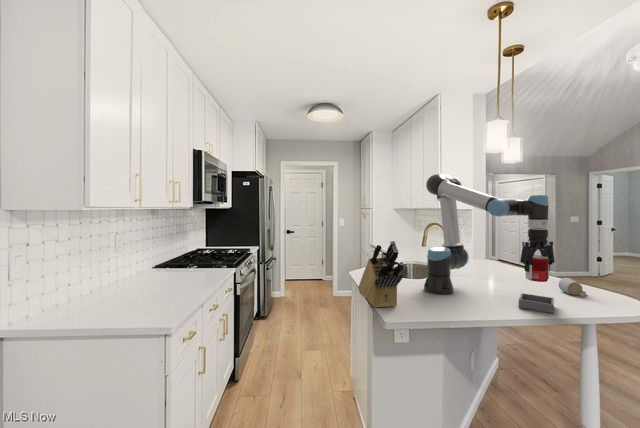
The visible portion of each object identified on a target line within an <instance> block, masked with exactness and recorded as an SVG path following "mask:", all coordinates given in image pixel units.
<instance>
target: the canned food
mask: <svg viewBox="0 0 640 428" xmlns="http://www.w3.org/2000/svg"><path fill="white" fill-rule="evenodd" d="M530 265H532V280H530V279H527V280H528V281H531V282H537V283H538V282H539V283H546V282H548V281H549V279H548V257H547V256H546V257H545V256H542V255H539V254H534V256H533V257H532V261H531V263H530Z"/></svg>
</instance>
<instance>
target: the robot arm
mask: <svg viewBox="0 0 640 428" xmlns="http://www.w3.org/2000/svg"><path fill="white" fill-rule="evenodd" d="M425 187H426V189H427V191H428V192H429V193H430V194H432V195H436V200H437V201H439V204H440V212H441V213H440V214H441V225H442V235H443V243H442V245H441V246H438V247H437V246H435V247H431V248H429V249H428V250H427V255H426V258H427V273H426V274H427V276H426V279H425V282H424V284H423V290H424V291H425V292H427V293H430V294H436V295H451V294H454V286H453V283H452V280H451V270H458V269H461V268H463V267H465V266H466V265H467V264H468V262H469V258H470V257H469V256H470V255H469V253H468V251H467V250H466V249H465V248H464V247H465V246H464V244H463V243H462V242H461V238H460V237H461V236H460V235H461V234H460V226H459V216H458V207H457V201H458V202H460V203H462V204H465V205H468V206H472V207H474V208H476V209H480V210H482V211H485V212H487V213H489V214H490V215H491V216H495V217H508V216H526V217H527V228H528V229H527V237H528V240H527V241H524V240H523V241H522V242H521V243H522V250H521V255H520V260H519V262H520V263H521V264H524V272H525V279H527V280H528V279H530V280H529V281H531V280H532V265H530V263H531V261H532V257H533V256H534V255H536V254H535V253H536V252H537V251H539V253H540V254H541V256H545V257H546V256H547V257H548V280H549V279H550V271H551V265H553V264H554V263H555V254H554V242H553V241H551V240H548V239H547V238H549V230H548V229H549V206H550V205H549V197H548V196H547V195H545V194H533V195H532V194H530V195H528V197H527V199H502V198H499V197H496V196H493V195H490V194H487V193H485V192H484V193H483V192H480V191H477V190H474V189H471V188H468V187H465V186H462V183H461V180H460V178H458V177H457V176H455V175H452V174H440V173H439V174H438V173H437V174H433V175H431V176H430V177H429V178H428V179H427V180H426V185H425Z"/></svg>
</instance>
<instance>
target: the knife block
mask: <svg viewBox="0 0 640 428" xmlns="http://www.w3.org/2000/svg"><path fill="white" fill-rule="evenodd" d="M389 243H390V244H389V246H388V248H387V250H386V252H385V256H384V257H378V256H379V254H380V252H381V251H382V246H381V245H380V244H377V245H376V246H375V248H374V251H373V255H372V257H371V258H369V259H368V260H367V263H366V266H365V268H364V270H363V271H364V272H363V273H362V276H361V279H360V282H359V285H358V286H357V287H358V288H357V289H358V293H359V294H360V295H361V296H362V297H363V298H364V299H365V300H367V301H368V302H369V304H371V305H372V306H373V308H376V307H377V308H385V307H397V306H398V305H397V304H398V286H399V284H400V282H401V281H402V279H404V275H403V274H400V273H401V272H402V270H403V268H404V262H402V261H401V262H398V261H397V259H398V256H399V250H398V248H397V245H396V241H394V240H391V241H390V242H389ZM395 265H397V266H395Z"/></svg>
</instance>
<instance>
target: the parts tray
mask: <svg viewBox="0 0 640 428" xmlns="http://www.w3.org/2000/svg"><path fill="white" fill-rule="evenodd" d="M554 306H555V298H554V297H550V296H543V295H536V294H529V293H523V292H521V294H520V296H519V298H518V309H523V310H527V311H528V310H529V311H533V312H540V313H545V314H549V315H554Z"/></svg>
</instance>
